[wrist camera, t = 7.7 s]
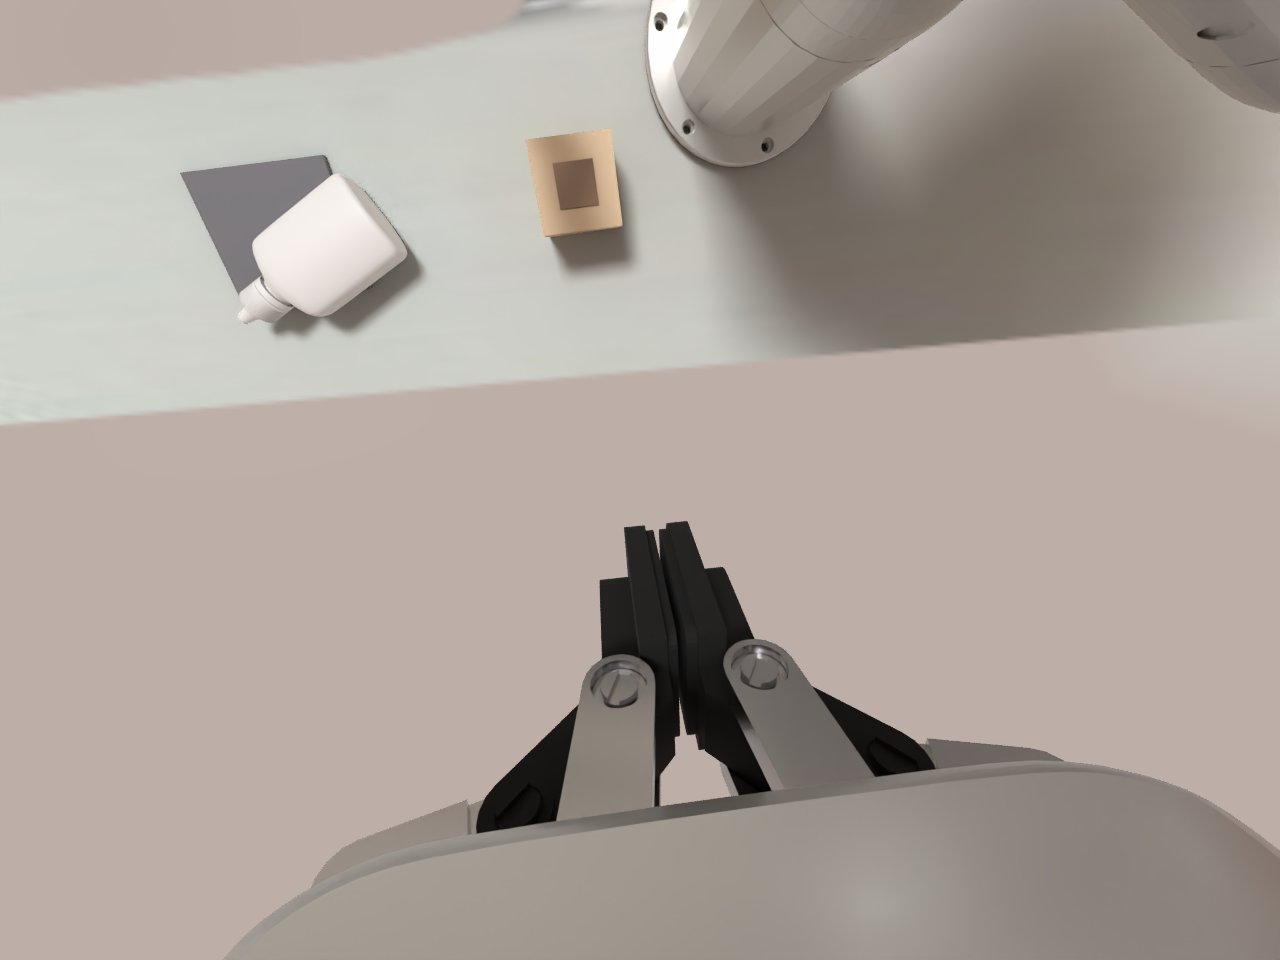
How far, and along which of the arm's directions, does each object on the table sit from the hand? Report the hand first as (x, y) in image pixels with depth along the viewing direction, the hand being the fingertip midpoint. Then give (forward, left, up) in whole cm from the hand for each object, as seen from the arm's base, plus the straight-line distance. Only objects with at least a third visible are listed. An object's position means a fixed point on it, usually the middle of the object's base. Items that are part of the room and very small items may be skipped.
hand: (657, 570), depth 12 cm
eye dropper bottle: (+2, -18, -27) cm, 32 cm away
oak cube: (-7, -9, -29) cm, 31 cm away
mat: (+8, -23, -29) cm, 37 cm away
